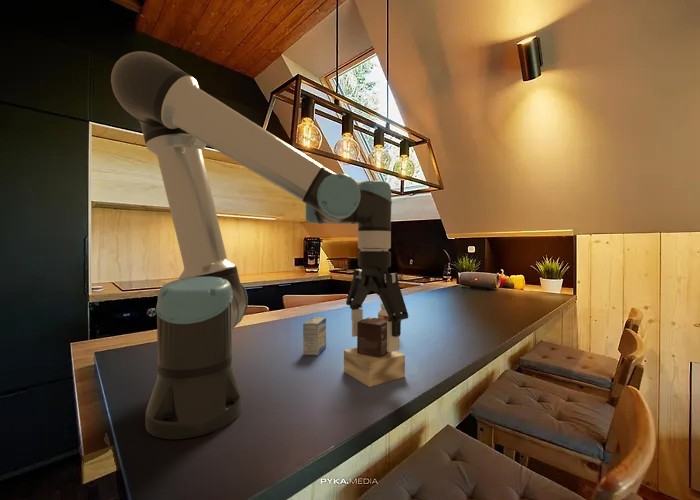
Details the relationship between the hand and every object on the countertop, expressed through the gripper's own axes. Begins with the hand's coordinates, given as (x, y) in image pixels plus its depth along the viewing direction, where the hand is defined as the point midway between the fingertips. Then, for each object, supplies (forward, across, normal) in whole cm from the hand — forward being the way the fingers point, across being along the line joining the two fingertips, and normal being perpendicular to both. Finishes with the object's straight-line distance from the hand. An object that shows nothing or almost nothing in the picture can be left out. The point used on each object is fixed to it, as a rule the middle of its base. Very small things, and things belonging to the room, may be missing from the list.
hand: (373, 342), depth 75 cm
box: (+2, 0, 0) cm, 2 cm away
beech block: (+7, 0, 0) cm, 7 cm away
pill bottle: (+7, +22, -22) cm, 32 cm away
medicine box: (+8, +22, +4) cm, 24 cm away
